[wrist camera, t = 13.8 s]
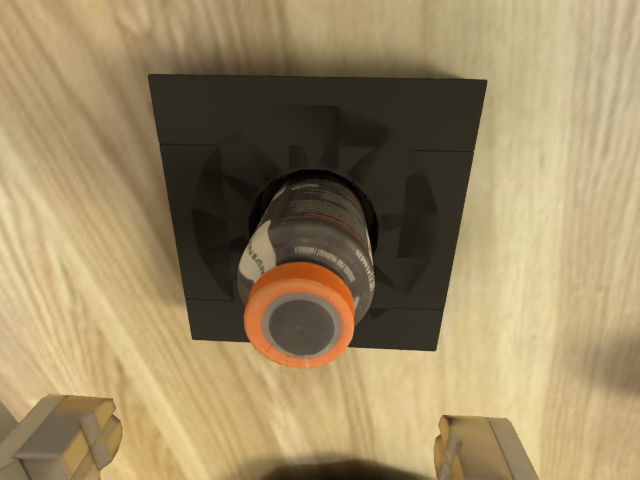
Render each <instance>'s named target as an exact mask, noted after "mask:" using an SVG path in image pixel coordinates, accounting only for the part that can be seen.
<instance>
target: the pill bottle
mask: <svg viewBox="0 0 640 480" xmlns="http://www.w3.org/2000/svg"><path fill="white" fill-rule="evenodd" d="M237 282H238V289H239V294H240V297H241V299H242V302H243V304H244V306H245V308H246V309H245V312H244V327H245V332H246V334H247V337H248V339H249V340H250V342H251V344H252V345H253V346H254V347H255V349H256V350H257V351H258V352H259V353H261V354H262V355H263V356H264V357H266V358H267V359H269V360H271V361H273V362H275V363H278V364H280V365H284V366H287V367H293V368H313V367H317V366H321V365H324V364H327V363H329V362H331V361H333V360H334V359H336V358H337V357H338V356H339V355H341V354H342V353H343V352H344V351H345V349H346V348H347V347H348V345H349V343H350V341H351V339H352V337H353V331H354V326H355V325H356V324H357V323H358V322H359V321H360V320H361V319H362V318H363V316H364V315H365V313H366V312H367V310H368V308H369V306H370V304H371V302H372V298H373V294H374V287H375V277H374V269H373V261H372V251H371V246H370V241H369V236H368V231H367V226H366V219H365V214H364V209H363V205H362V202H361V199H360V197H359V195H358V193H357V192H356V191H355V189H354V188H353V187H352V186H351V185H350V184H349V183H348V182H347V181H346V180H344V179H343V178H341V177H339V176H337V175H335V174H333V173H330V172H324V171H307V172H302V173H299V174H297V175H294V176H292V177H291V178H289V179H288V180H287V181H285V182H284V183H283V184H282V185H281V186H280V187H279V189H278V190H277V191H276V193H275V195H274V197H273V198H272V200H271V202H270V204H269V206H268V208H267V210H266V211H265V213H264V215H263V217H262V219H261V221H260V223H259V224H258V226H257V228H256V230H255V231H254V233H253V235H252V237H251V239H250V241H249V244H248V245H247V247H246V249H245V251H244V253H243V255H242V258H241V261H240V264H239V266H238V277H237Z"/></svg>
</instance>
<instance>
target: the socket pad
mask: <svg viewBox="0 0 640 480" xmlns="http://www.w3.org/2000/svg"><path fill="white" fill-rule="evenodd" d="M148 80H149V86H150V92H151V98H152V104H153V110H154V116H155V122H156V128H157V134H158V140H159V143H160V151H161V157H162V163H163V169H164V175H165V181H166V187H167V193H168V199H169V205H170V211H171V217H172V222H173V228H174V234H175V240H176V246H177V252H178V258H179V264H180V270H181V276H182V282H183V288H184V294H185V298H186V306H187V312H188V318H189V324H190V330H191V335H192V339H193V340H209V341H230V342H250V340H249V339H248V337H247V334H246V332H245V327H244V312H245V309H246V308H245V306H244V304H243V302H242V299H241V297H240V294H239V289H238V282H237V277H238V266H239V264H240V261H241V258H242V255H243V253H244V251H245V249H246V247H247V245H248V244H249V241H250V239H251V237H252V235H253V233H254V231H255V230H256V228H257V226H258V224H259V223H260V205H259V202H260V200H261V197H262V194H263V192H264V190H265V189H266V188H267V187H268V186H269V185H270V184H271V183H272V182H273V181H274V180H275V179H277V178H279V177H282V176H284V175H287V174H289V173H292V172H295V171H297V170H300V169H305V170H328V171H330V172H333V173H335V174H337V175H339V176H342V177H344V178H346V179H349V180H351V181H353V182H354V184H355V185H356V186H357V187H358V188H359V189H360V190H361V191H362V192H363V193H364V194H365V195H366V196H367V197H368V198H369V199H370V201H371V203H372V206H373V209H374V216H373V228H372V230H371V232H370V234H369V235H368V236H369V241H370V246H371V251H372V261H373V269H374V277H375V287H374V294H373V298H372V302H371V304H370V306H369V308H368V310H367V312H366V313H365V315H364V316H363V318H362V319H361V320H360V321H359V322H358V323H357V324H356V325H355V326H354V331H353V337H352V339H351V341H350V343H349V345H348V347H355V348H376V349H397V350H418V351H436V349H437V343H438V338H439V333H440V328H441V322H442V317H443V312H444V307H445V302H446V297H447V292H448V286H449V281H450V276H451V271H452V266H453V260H454V255H455V250H456V245H457V239H458V234H459V229H460V224H461V218H462V213H463V208H464V203H465V197H466V192H467V187H468V182H469V176H470V171H471V166H472V161H473V155H474V152H473V151H474V150H475V144H476V139H477V134H478V129H479V123H480V118H481V113H482V108H483V102H484V97H485V92H486V87H487V80H479V79H430V78H368V77H306V76H245V75H183V74H149V75H148ZM250 343H251V342H250Z"/></svg>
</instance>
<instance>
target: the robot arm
mask: <svg viewBox="0 0 640 480" xmlns="http://www.w3.org/2000/svg"><path fill="white" fill-rule="evenodd" d="M115 409H116V406H115V404H114V401H113V399H109V398H97V397H85V396H73V395H58V394H49V395H48V396H46V397H44V398H42V399H41V400H40V401H39V402H38V403H37V404H36V406H35V407H34V408H33V409H32V410H31V411H30V412H29V413H28V414H27V415H26V417H25V418H24V419H23V420H22V421H21V422H20V423H19V424H18V425H17V427H15V429H14V430H13V431H12V432H11V433H10V434H9V435H8V436H7V437H6V439H5V440H4V441H3V442H2V443H1V444H0V480H101V478H100V470H101V469H103V468H104V467H105V466H107V465H108V464H109V463H111V462H112V460H113V458H114V457H115V455H116V453H117V451H118V449H119V446H120V443H121V439H122V425H121V421H120V420H119V419H118V418H117V417H115V416H114V415H113V412H114V411H115ZM439 429H440V433H441V434H440V435H439V436H438V437H436V439H435V444H434V463H435V470H436V474H437V479H438V480H539V478H538V476H537V474H536V472H535V470H534V468H533V466H532V464H531V462H530V460H529V458H528V456H527V453H526V451H525V449H524V447H523V445H522V443H521V441H520V439H519V437H518V435H517V433H516V431H515V429H514V427H513V425H512V423H511V422H510V421H509V420H508V419H507V418H489V417H485V418H484V417H478V416H452V415H443V416H442V417H441V418H440V421H439Z"/></svg>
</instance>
